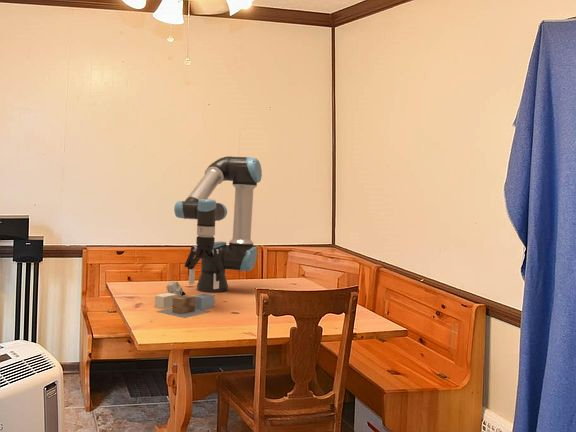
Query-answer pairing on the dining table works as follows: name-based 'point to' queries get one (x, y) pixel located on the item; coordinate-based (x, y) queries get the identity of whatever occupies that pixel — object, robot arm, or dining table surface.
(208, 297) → the brick top
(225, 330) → the dining table surface
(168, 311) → the build board
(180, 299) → the brick base
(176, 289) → the toy
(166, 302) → the brick
